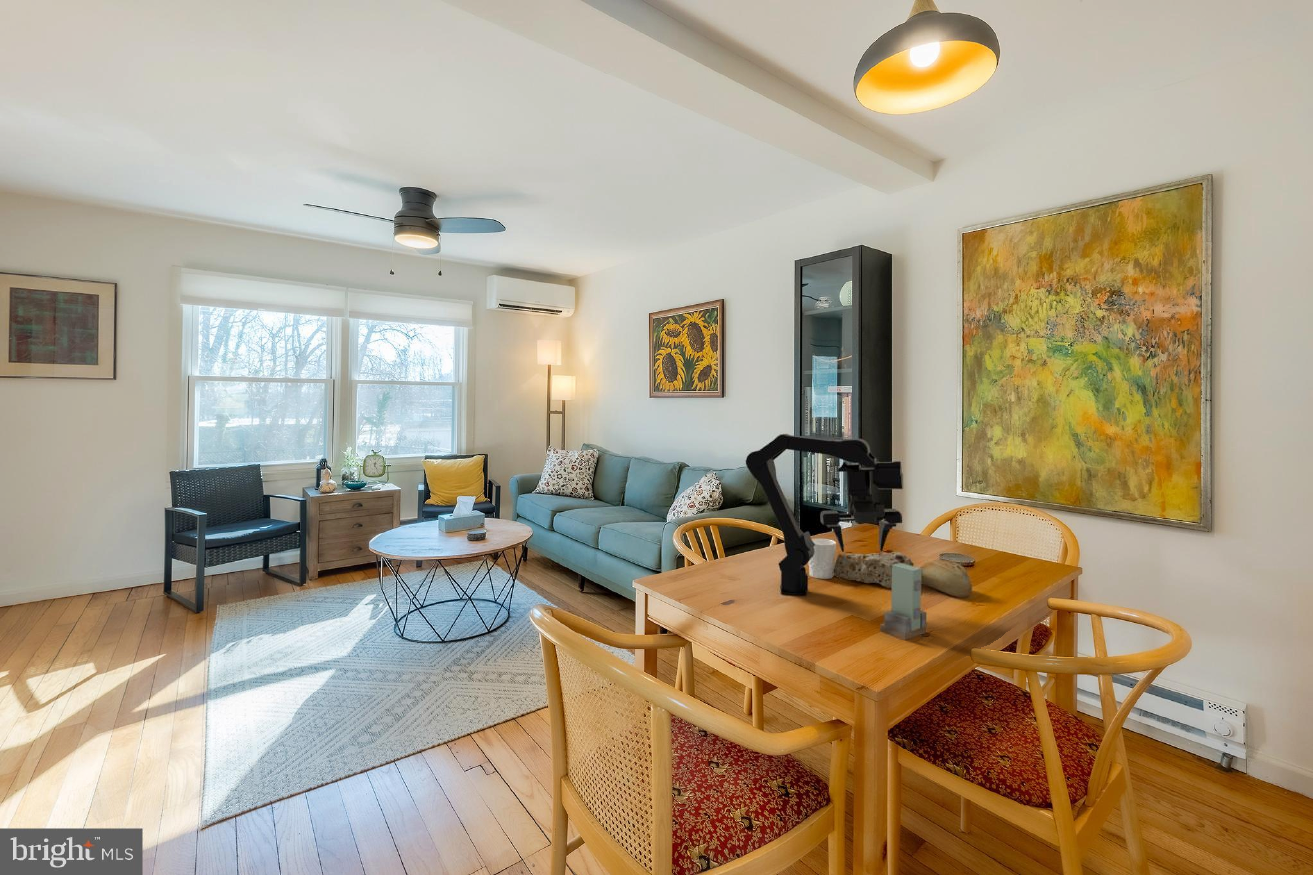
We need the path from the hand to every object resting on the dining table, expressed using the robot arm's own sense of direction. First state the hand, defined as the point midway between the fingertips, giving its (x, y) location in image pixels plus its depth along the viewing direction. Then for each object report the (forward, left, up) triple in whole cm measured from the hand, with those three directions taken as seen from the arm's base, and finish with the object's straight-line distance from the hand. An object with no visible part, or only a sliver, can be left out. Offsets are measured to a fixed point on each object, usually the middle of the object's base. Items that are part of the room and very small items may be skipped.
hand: (861, 551), depth 145 cm
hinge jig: (+6, -19, -13) cm, 24 cm away
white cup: (-7, +21, -13) cm, 26 cm away
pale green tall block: (+6, -19, -11) cm, 23 cm away
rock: (+7, +20, -13) cm, 25 cm away
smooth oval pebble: (+23, +13, -13) cm, 30 cm away
